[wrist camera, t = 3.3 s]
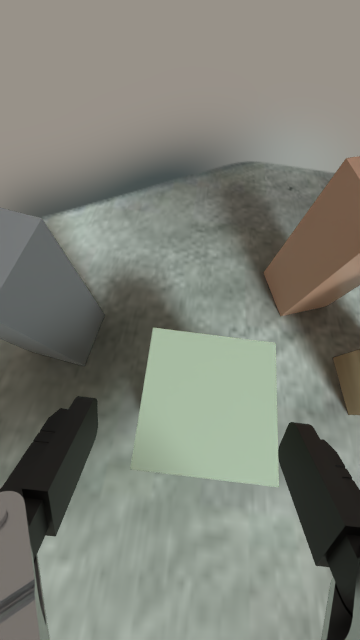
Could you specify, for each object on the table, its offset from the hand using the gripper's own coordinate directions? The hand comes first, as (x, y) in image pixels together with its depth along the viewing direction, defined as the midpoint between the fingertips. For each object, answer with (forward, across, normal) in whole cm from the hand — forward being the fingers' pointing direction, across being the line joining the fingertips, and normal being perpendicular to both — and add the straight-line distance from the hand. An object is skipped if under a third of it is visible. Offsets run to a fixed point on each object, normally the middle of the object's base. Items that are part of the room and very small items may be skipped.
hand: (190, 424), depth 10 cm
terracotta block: (+12, -8, -3) cm, 15 cm away
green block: (+5, 0, +4) cm, 7 cm away
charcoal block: (+8, +9, +1) cm, 12 cm away
